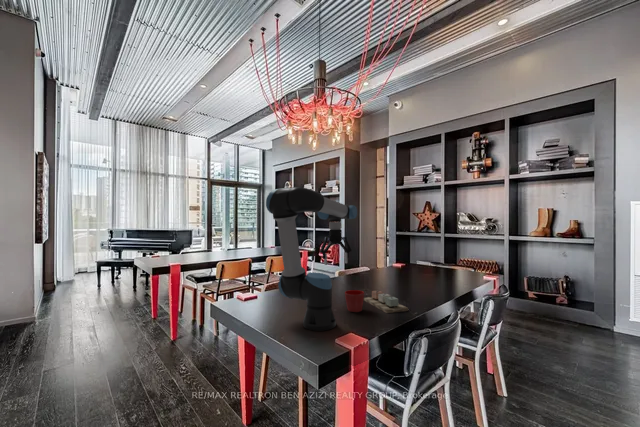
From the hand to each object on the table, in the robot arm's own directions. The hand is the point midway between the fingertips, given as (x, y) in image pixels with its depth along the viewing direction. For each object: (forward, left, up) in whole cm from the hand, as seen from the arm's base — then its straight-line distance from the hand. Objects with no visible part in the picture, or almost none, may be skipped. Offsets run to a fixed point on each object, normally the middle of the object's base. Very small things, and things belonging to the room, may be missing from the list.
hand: (335, 263), depth 174 cm
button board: (-17, -23, -22) cm, 36 cm away
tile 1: (-17, -23, -20) cm, 35 cm away
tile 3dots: (-9, -23, -20) cm, 32 cm away
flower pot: (-20, -3, -23) cm, 31 cm away
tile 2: (-25, -23, -20) cm, 40 cm away
